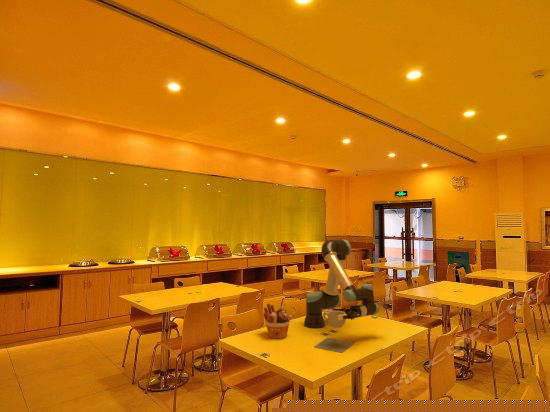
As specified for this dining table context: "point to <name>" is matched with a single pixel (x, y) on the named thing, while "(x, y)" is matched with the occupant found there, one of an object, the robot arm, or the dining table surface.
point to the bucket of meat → (276, 322)
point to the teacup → (334, 318)
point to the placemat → (334, 345)
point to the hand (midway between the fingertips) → (330, 315)
